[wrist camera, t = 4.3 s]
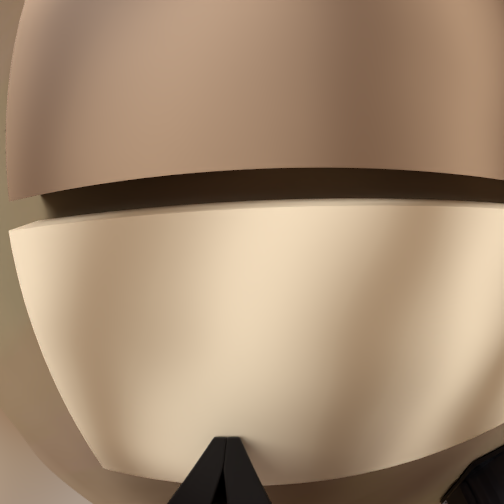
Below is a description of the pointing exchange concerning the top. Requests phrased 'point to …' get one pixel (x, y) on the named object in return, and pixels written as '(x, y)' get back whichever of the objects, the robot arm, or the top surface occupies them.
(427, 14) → the walnut board
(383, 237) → the oak plank
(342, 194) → the top surface
